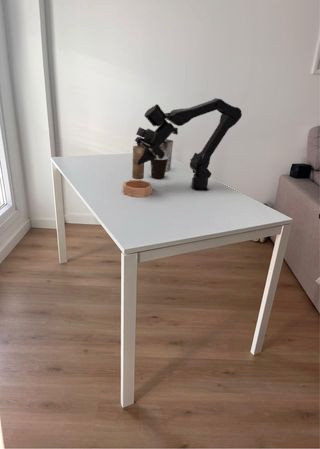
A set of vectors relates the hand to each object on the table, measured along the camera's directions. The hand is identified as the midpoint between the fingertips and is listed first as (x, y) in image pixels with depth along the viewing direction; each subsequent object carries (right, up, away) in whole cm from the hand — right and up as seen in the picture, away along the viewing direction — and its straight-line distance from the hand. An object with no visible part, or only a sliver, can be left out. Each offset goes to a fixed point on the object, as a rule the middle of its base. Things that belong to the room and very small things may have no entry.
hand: (135, 162), depth 132 cm
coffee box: (+11, +4, +42) cm, 43 cm away
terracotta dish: (0, -12, +6) cm, 13 cm away
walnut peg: (+1, -6, +3) cm, 7 cm away
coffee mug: (+9, -2, +29) cm, 31 cm away
